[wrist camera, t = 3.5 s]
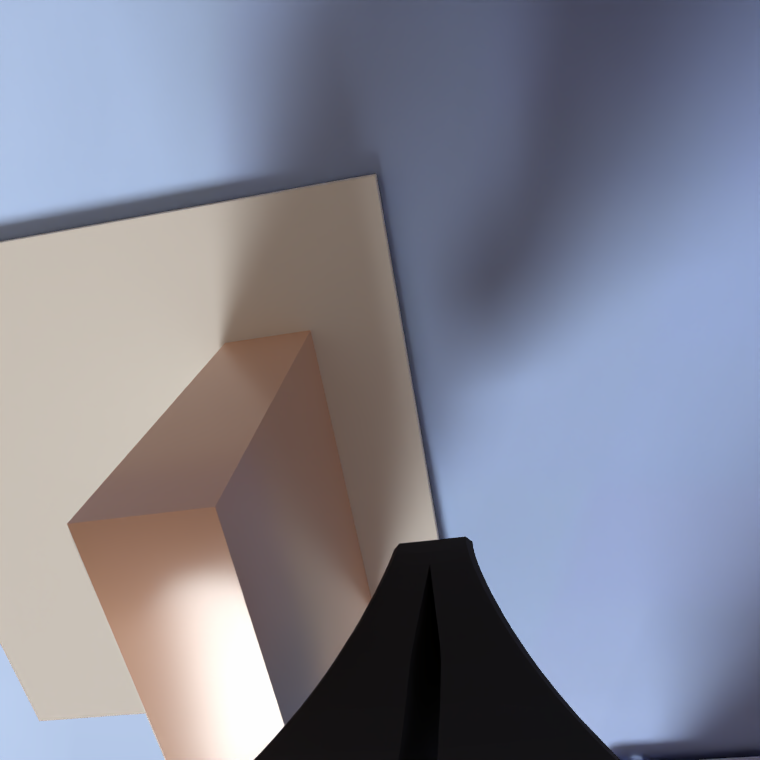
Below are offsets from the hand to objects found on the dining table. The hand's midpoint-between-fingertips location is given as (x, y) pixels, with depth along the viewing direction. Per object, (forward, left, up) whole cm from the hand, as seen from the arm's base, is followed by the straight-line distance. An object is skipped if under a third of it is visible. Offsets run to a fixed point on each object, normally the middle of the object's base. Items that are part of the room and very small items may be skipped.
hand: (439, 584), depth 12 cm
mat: (+7, 0, -4) cm, 8 cm away
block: (+3, 0, -4) cm, 5 cm away
